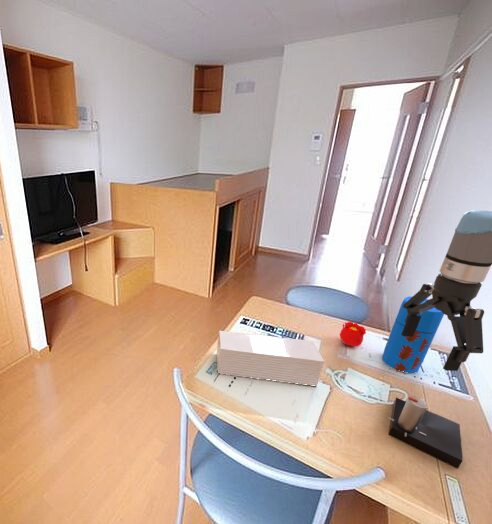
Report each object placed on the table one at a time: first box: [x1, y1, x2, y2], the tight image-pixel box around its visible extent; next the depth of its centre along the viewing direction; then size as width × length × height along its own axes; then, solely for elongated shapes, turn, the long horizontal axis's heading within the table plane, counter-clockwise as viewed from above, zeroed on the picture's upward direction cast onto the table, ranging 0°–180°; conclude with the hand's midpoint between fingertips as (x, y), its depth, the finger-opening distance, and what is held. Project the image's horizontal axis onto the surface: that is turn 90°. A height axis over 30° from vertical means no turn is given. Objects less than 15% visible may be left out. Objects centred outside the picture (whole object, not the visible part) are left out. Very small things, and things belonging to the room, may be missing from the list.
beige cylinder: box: [397, 395, 429, 433], centre depth 82 cm, size 4×4×9 cm
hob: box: [387, 397, 464, 469], centre depth 84 cm, size 15×15×3 cm
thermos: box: [381, 296, 445, 374], centre depth 106 cm, size 11×11×25 cm
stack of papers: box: [216, 330, 325, 387], centre depth 106 cm, size 32×11×11 cm, turn 79°
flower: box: [339, 321, 367, 347], centre depth 120 cm, size 8×8×8 cm
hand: (426, 351), depth 79 cm, fingers open, 13 cm apart
